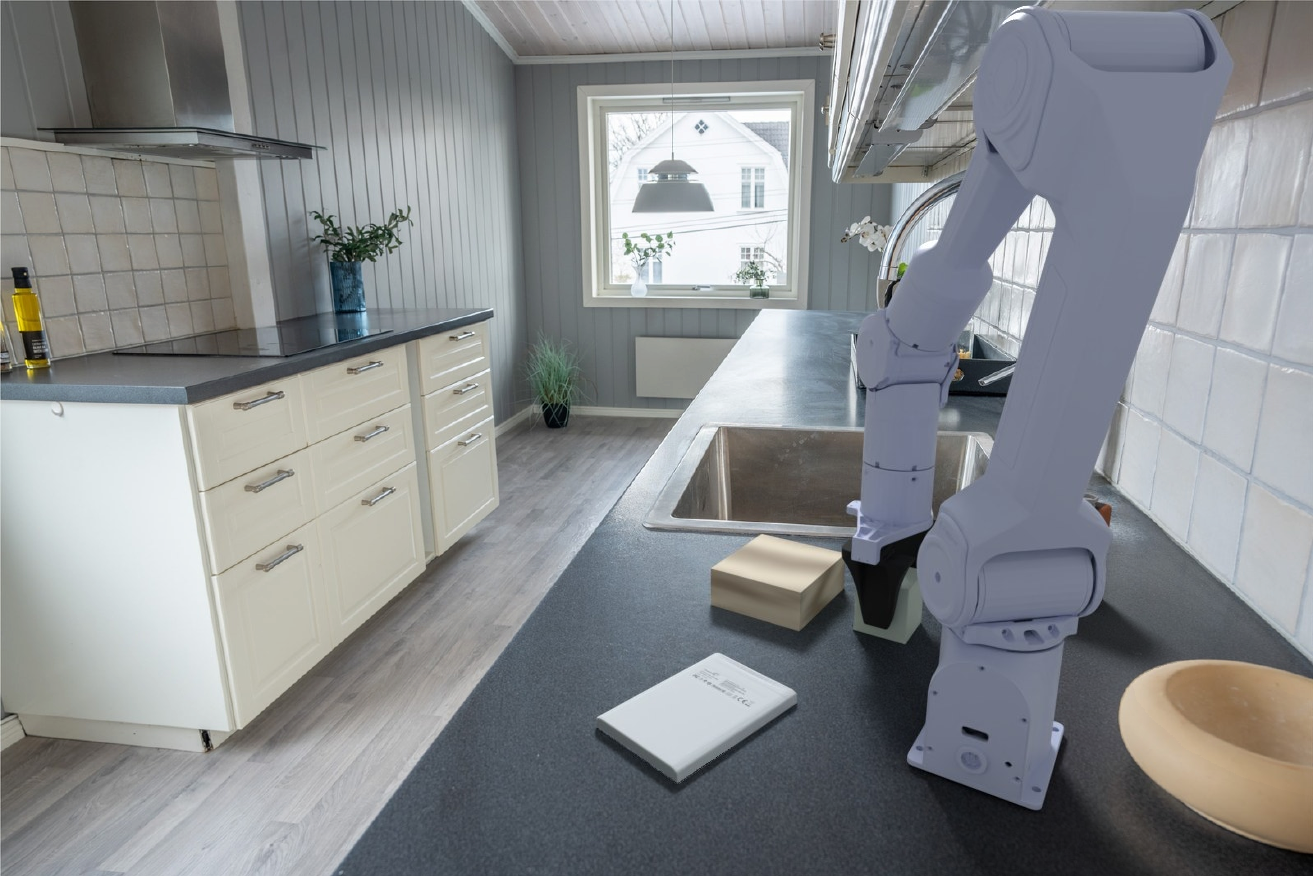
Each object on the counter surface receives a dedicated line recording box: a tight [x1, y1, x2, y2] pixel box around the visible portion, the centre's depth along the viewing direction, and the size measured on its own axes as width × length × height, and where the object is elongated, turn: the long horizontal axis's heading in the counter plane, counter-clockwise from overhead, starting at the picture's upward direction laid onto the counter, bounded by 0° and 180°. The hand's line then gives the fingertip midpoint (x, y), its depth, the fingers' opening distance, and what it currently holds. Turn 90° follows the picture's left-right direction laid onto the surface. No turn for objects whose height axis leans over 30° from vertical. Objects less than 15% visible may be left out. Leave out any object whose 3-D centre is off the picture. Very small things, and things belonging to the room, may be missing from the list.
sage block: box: [853, 567, 924, 645], centre depth 67 cm, size 4×4×5 cm
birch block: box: [710, 533, 846, 632], centre depth 73 cm, size 10×9×4 cm
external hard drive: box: [595, 652, 798, 783], centre depth 56 cm, size 2×8×12 cm
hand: (888, 610), depth 68 cm, fingers open, 5 cm apart
